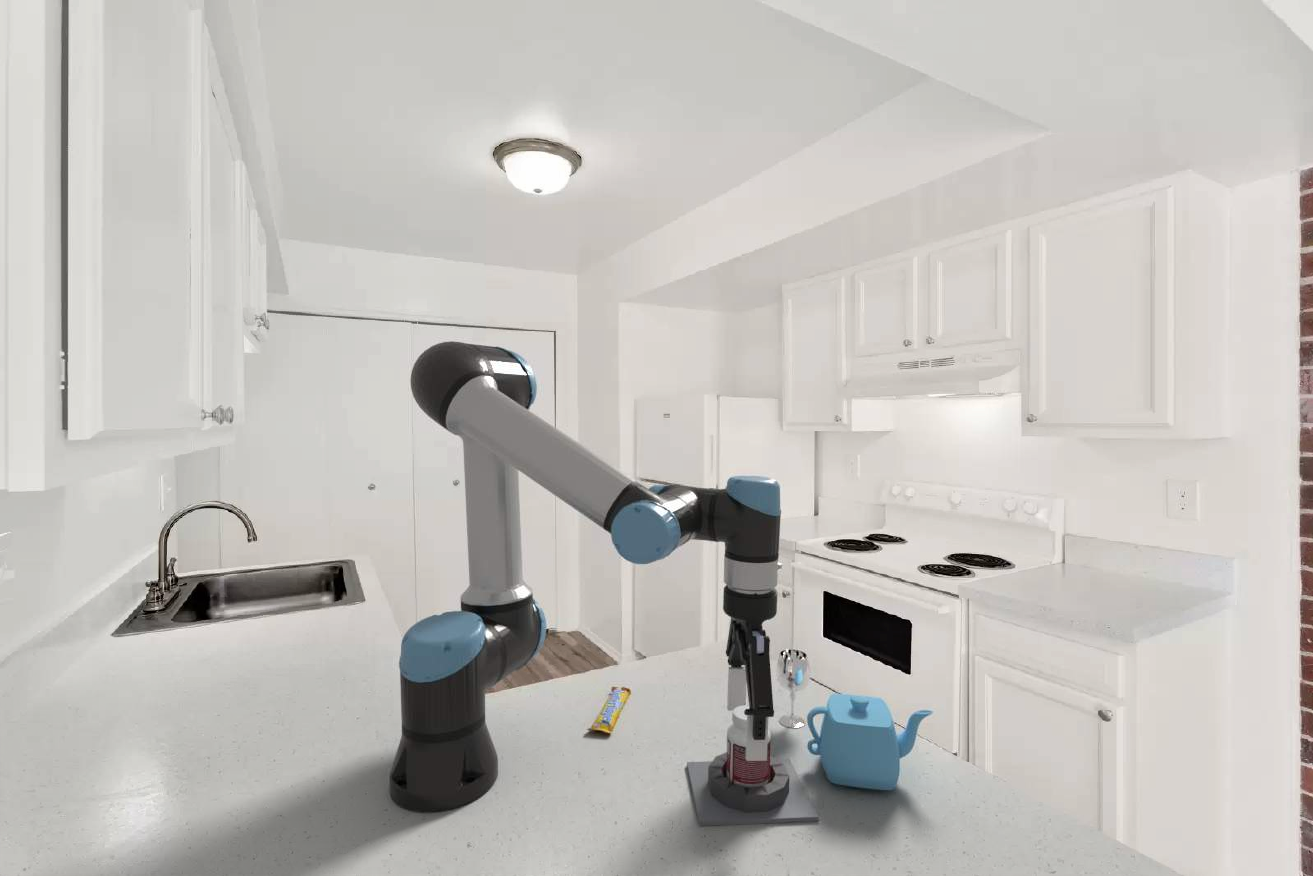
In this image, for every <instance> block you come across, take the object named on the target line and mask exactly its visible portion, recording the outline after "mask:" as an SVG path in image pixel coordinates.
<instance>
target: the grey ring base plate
mask: <svg viewBox="0 0 1313 876" xmlns="http://www.w3.org/2000/svg"><path fill="white" fill-rule="evenodd" d="M686 768H687V773H688V777H689V782H690V786H691V792H692V797H693V802H694V806H695V807H694V808H695V810H696V817H697V821H698V825H699V827H706V826H707V827H708V826H730V825H731V826H732V825H737V826H738V825H757V824H758V825H759V824H779V823H781V824H782V823H802V822H803V823H804V822H819V815H818V812H817V810H816V809H815V806H814V804H813V802H812V800H811V799H810V797H809V795H808V793H807V790H806V789H805V787H804V785H803V783H802V781H801V779H800V777H799V775H798V773H797V771H796V768H795V767H794V765H793V763H792V761H791V759H790V758H775V757H774V756H772V755H771V754H770V783H768V784H766V785H764V786H762V787H744V786H741V785H737V784H734V783H732V782H731V781H729V780H728V779H727V778H726V775H727V751H726V752H724V753H722V754H719V755H715V757H713V760H710V761H708V760H707V761H687V762H686Z"/></svg>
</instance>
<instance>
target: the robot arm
mask: <svg viewBox="0 0 1313 876" xmlns="http://www.w3.org/2000/svg"><path fill="white" fill-rule="evenodd" d="M409 380H410V390H411V393H412V396H413V398H414V400H415V402H416V404H417V405H418V407H419V408H420V409H421V410H422V412H423V413H425V415H426V416H427V417H429V418H430V419H431V420H433V421H434V422H435V423H437V424H438V425H439V426H440V427H442V428H443V429H445V430H447V431H448V432H449V433H451V434H453V435H454V436H458V437H459V438H461V440H462V443H463V444H462V445H463V446H462V447H463V469H464V470H463V472H464V490H465V491H464V493H465V512H466V513H465V514H466V515H465V516H466V533H467V534H466V535H467V537H466V538H467V557H468V580H469V583H468V587H467V588H466V589H465V591H464V592H463V593H462V594H460V610H456V611H455V610H452V611H444V612H442V613H441V614H432V615H431V616H428V617H425V618H423V619H421V620H419V621H417V622H416V623H415V624H413V625H412V626H410V627H409V629H408V630H406V632H405V634H404V635H403V637H402V639H401V643H400V655H399V662H398V667H399V668H398V669H399V677H400V678H399V679H400V707H401V709H400V710H401V711H400V712H401V737H400V740H399V743H398V747H397V749H396V753H395V756H394V760H393V762H392V764H391V769H390V772H389V778H388V779H389V795H390V798H391V799H392V801H393V802H395V804H396V805H398V806H399V807H400V808H401V807H402V808H403V809H407V810H411V811H415V812H441V811H446V810H451V809H454V808H455V809H456V808H458V807H461V806H464V805H466V804H469V803H471V802H473V801H475V800H477V799H478V798H480V797H482V796H483V795H484V794H486V793H487V792H488V791H489V790H490V789H491V788H492V787H493V786H494V785H495V782H496V781H497V779H498V775H499V761H498V753H497V750H496V747H495V745H494V741H493V740H492V737H491V734H490V731H489V729H488V726H487V722H486V693H487V691H488V690H489V689H491V688H492V687H494V686H495V685H496V684H497V683H499V682H500V681H502V680H504V679H505V678H506V677H508V676H509V675H510V674H512V673H513V672H515V671H516V672H517V671H518V670H520V669H522V668H523V667H524V666H525V667H526V665H527V664H528V663H529V662H530V661H531V660H532V659H533V658H534V657H535V656H536V655H537V654H538V653H539V651H540V650H541V649H542V647H543V645H544V642H545V638H546V635H547V620H546V615H545V612H544V610H543V608H542V607H539V603H538V601H537V600H536V599H535V598H534V597H533V595H534V594H533V588H532V587H531V586H529V585H528V584H527V583H526V582H525V581H524V580H523V579H524V578H523V559H522V556H523V555H522V533H521V532H522V531H521V530H522V528H521V510H520V509H521V506H520V481H519V480H520V479H519V472H520V473H522V474H523V475H525V476H526V477H528V478H529V479H531V480H532V481H533V482H535V483H536V484H537V485H539V486H541V488H543V489H544V490H546V491H548V492H549V493H551V494H552V495H554V496H555V497H556V498H558V499H559V500H561V501H563V502H564V503H566V504H567V505H568V506H570V507H571V508H572V509H574V510H576V511H577V512H578V513H580V514H581V515H582V516H584V517H586V518H587V519H589V520H590V521H591V522H593V523H595V524H596V525H597V526H598V527H600V528H602V529H603V530H605V531H606V532H607V533H608V534H610V537H611V542H612V545H613V546H614V548H615V549H616V551H617V553H618V555H620V557H622V558H623V559H624V560H626V561H627V562H630V563H632V564H637V565H648V564H652V563H654V562H657V561H660V560H664V559H665V558H666V557H669V556H670V555H671V554H672V553H673V552H674V551H675V550H677V549H678V548H680V547H682V546H683V545H685V544H687V543H688V542H689V541H691V540H694V541H695V540H697V541H708V542H715V543H720V542H721V543H724V557H723V558H724V559H723V560H724V561H723V583H724V584H725V586H724V587H723V596H722V597H723V598H722V601H723V602H722V603H723V604H722V609H723V612H724V613H725V615H727V616H728V617H730V624H729V630H728V636H727V643H726V650H725V655H726V657H728V658H727V664H728V670H727V672H728V674H727V677H728V678H727V705H726V709H727V711H729V712H730V711H732V712H733V710H734V709H735V708H736V707H738V706H744V705H747V704H746V702H747V698H748V705H749V709H746V710H745V711H744V714H745V715H747V729H746V757H745V758H746V761H767V744H768V729H769V718H773V717H774V716H775V709H774V699H773V685H772V684H773V682H772V671H771V660H770V659H771V657H770V656H771V655H770V646H771V645H770V643H771V639H770V636H769V635H767V634H766V633H767V632H766V630H765V629H763V623H764V622H766V621H770V620H771V619H774V618H775V616H776V615H777V613H778V612H777V611H778V591H777V589H776V587H777V586H778V580H779V579H778V576H779V575H778V571H781V570H782V567H783V565H782V563H780V562H779V556H780V555H779V553H780V552H779V551H780V550H779V549H780V535H781V533H780V532H781V517H782V509H781V486H780V484H779V482H778V481H777V480H776V479H774V478H771V477H767V476H759V475H734V476H731V477H729V478H728V480H727V481H726V486H725V488H716V489H715V488H705V487H697V486H696V487H693V486H684V485H682V486H681V485H677V484H671V483H670V484H667V485H666V484H664V485H663V484H654V485H652V486H650V487H649V488H647V487H646V486H644V485H643V484H642V483H640V482H638V481H637V480H636V479H634V478H632V477H631V476H630V475H629V474H626V472H624V471H622V470H621V469H619V468H618V467H616V466H614V465H613V464H611V463H609V462H608V461H607V460H605V459H604V458H602V457H601V456H599V455H598V454H596V453H594V452H593V451H591V450H590V449H589V448H587V447H585V446H584V445H582V444H580V442H578V441H576V440H575V439H573V438H572V437H570V436H568V435H567V434H566V433H564V432H562V431H561V430H559V429H558V428H556V427H555V426H553V425H552V424H550V423H549V422H547V421H545V420H544V419H542V418H541V417H539V416H538V415H536V414H535V413H533V412H532V411H530V409H531V406H532V405H533V404H534V403H535V401H536V397H537V390H538V389H537V387H538V385H537V378H536V375H535V373H534V369H532V367H531V365H530V364H529V362H528V361H527V360H526V359H525V358H524V357H523V356H522V355H520V354H518V353H517V352H514V351H512V350H508V349H506V348H504V347H500V346H493V345H481V344H473V343H468V342H467V343H466V342H460V341H441V342H439V343H435V344H434V345H432V346H430V347H428V348H427V349H426V350H424V351H423V352H422V353H421V354H420V355H419V356H418V358H417V359H416V360H415V361H414V364H413V367H412V369H411V374H410V379H409Z"/></svg>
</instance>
